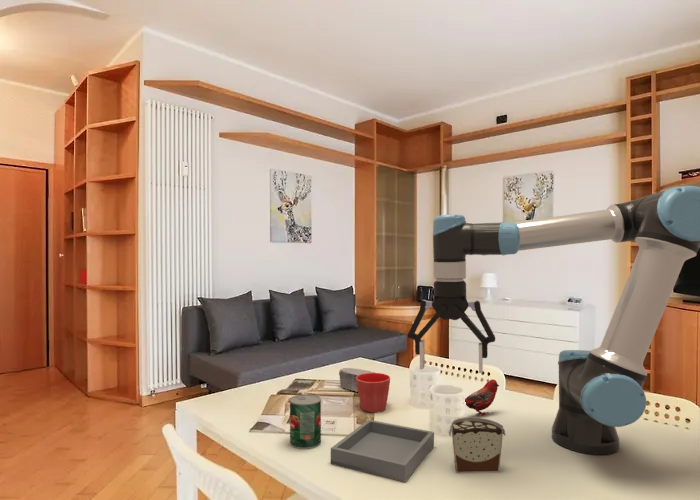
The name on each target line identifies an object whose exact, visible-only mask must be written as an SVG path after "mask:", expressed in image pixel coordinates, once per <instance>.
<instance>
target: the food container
mask: <svg viewBox="0 0 700 500" xmlns="http://www.w3.org/2000/svg"><path fill="white" fill-rule="evenodd" d="M451 435H452V437H451ZM448 436H449V437H451V438H452V447H453V456H454V457H453V458H454V465H455V473H456V474H468V473H469V474H477V473H478V474H479V473H482V474H483V473H484V474H485V473H500V466H501V458H502V456H501V455H502V446H503V437H506V436H507V435H506V431H505V428H504V426H503V425H502V424H500V422H497V421H494V420H491V419H488V418H483V417H482V418H481V417H474V416H473V417H460V418H457V419H455V420H452V422H451V425H450V427H449V431H448Z"/></svg>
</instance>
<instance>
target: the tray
mask: <svg viewBox="0 0 700 500" xmlns="http://www.w3.org/2000/svg"><path fill="white" fill-rule="evenodd" d="M434 447H435V432H434V431H429V430H425V429H421V428H420V429H419V428H415V427H410V426H409V427H408V426H403V425H398V424H394V423H388V422H383V421H378V420H377V421H376V420H374V419H373V420H372V419H368V420H365V422H363V423H362V424H361V425H359V426H358V427H356V428H355V429H354V430H353V431H351V432H350V433H349V434H348V435H346V436H345V437H343V438H342V439H341V440H339V441H338V442H337V443H336V444H334V445H333V446H332V447H330V464H331V465H335V466H338V467H342V468H346V469H351V470H354V471H358V472H362V473H367V474H370V475H374V476H379V477H382V478H386V479H391V480H395V481H398V482H399V481H400V482H403V483H406V482H407V481H408V479H409V478H410V477H411V476H412V474H413V473H414V472H415V471H416V470H417V468H418V467H419V466H420V465H421V464H422V462H423V461H424V460H425V458H426V457H427V456H428V454H429V453H430V452H431V451H432V449H433V448H434Z"/></svg>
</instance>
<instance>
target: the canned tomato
mask: <svg viewBox="0 0 700 500" xmlns="http://www.w3.org/2000/svg"><path fill="white" fill-rule="evenodd" d="M321 400H322V398H321V397H320V396H319V395H316V394H310V393H309V394H307V393H306V394H305V393H304V394H297V395H294V396H292V397H290V398H289V445H290V446H291V447H292V448H295V449H297V450H310V449H311V450H312V449H315V448H317V447H319V446H321V444H322V427H321V426H322V415H321V414H322V407H321V406H322V404H321V403H322V401H321Z"/></svg>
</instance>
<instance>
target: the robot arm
mask: <svg viewBox="0 0 700 500" xmlns="http://www.w3.org/2000/svg"><path fill="white" fill-rule="evenodd" d="M432 224H433V226H432V227H433V229H432V230H433V231H432V243H433V244H432V246H433V247H432V249H433V250H432V252H433V279H434V280H435V281H433V301H431V300H426V299H422V300H421V301H420V303H419V304H420V305H419V310H418V313H417V315H416V317H415V319H414V321H413V323H412V325H411V326H410V329H409V331H408V333H407V338H408V339H411V340H413V341H414V347H415V349H414V351H415V355H419V370H424V368H425V364H426V363H425V359H426V357H425V340H424V339H423V337H424V336H425V335H426V333H427V332H428V331H429V330H430V329H431V328H432V326H433V325H434V324H435V323H436V322H437V320H439V319H442V320H444V321H447V320H452V321H457V320H460V319H461V321H462V322H463V323H464V324H465V325H466V326H467V328H469V330H470V331H471V332H472V333H473V334H474V335H475V337H476V338H477V339H478V340H479V341H480V342H478V373H479V374H483V372H484V371H483V368H484V365H483V361H484V360H483V359H487V358H488V355H489V354H488V345H489V344H491V343H494V342H495V341H496V336H495V334H494V332H493V330H492V328H491V326H490V324H489V323H488V320H487V318H486V317H485V315H484V313H483V311H482V307H481V306H482V305H481V302H480V301H479V300H475V301H468V299H467V283H466V281H465V279H466V278H467V266H466V265H467V262H466V261H467V260H466V256H468V255H469V256H474V255H475V256H476V255H477V256H500V255H501V256H508V255H516V254H517V253H518V252H519V251H526V250H528V251H529V250H535V249H543V248H553V247H559V246H561V247H562V246H568V245H575V244H584V243H590V242H600V241H608V240H611V241H612V242H613V243H625V242H636V244H637V246H638V250H637V254H636V256H635V258H634V262H633V264H632V267H631V269H630V271H629V274H628V277H627V279H626V281H625V284H624V286H623V289H622V291H621V294H620V297H619V299H618V301H617V305H616V306H615V309H614V311H613V314H612V317H611V319H610V321H609V324H608V327H607V329H606V331H605V333H604V336H603V338H602V341H601V343H600V345H599V347H597V348H594V349H591V350H580V349H579V350H578V349H565V350H562V351H560V352H559V354H558V361H557V365H558V410H557V412H556V415H555V418H554V421H553V423H552V426H551V439H552V440H553V441H554V442H555V443H556V444H558V445H559V446H561V447H563V448H565V449H568V450H570V451H575V452H578V453H582V454H589V455H600V456H603V455H612V454H615V453H617V452H618V451H619V450H620V437H619V435H618V432H617V428H621V427H624V426H628V425H629V426H630V425H632V424H633V423H635V422H637V421H638V420H639V419H640V418H641V417H642V415H644V412H645V410H646V407H647V397H646V394H645V391H644V389H643V386H644V384H645V382H646V379H647V376H648V372H647V370H646V369H645V366H644V361H645V358H646V356H647V353H648V352H649V349H650V347H651V343H652V341H653V339H654V337H655V334H656V332H657V329H658V327H659V325H660V322H661V320H662V317H663V314H664V312H665V310H666V309H667V305H668V302H669V300H670V297H671V295H672V292H673V290H674V288H675V284H676V283H677V280H678V278H679V275H680V273H681V271H682V268H683V266H684V263H685V262H686V261H687V260H689V259H691V258H692V259H693V258H694V257H697V254H698V251H699V250H700V186H696V185H683V186H680V185H679V186H673V187H670V188H668V189H667V190H664V191H663V190H662V191H659V192H655V193H651V194H647V195H645V196H641V197H638V198H637V199H632V200H629V201H626V202H622V203H615V204H610V205H609V206H608V207H607V208H606V209H601V210H600V209H599V210H594V211H587V212H586V211H585V212H579V213H571V214H566V215H565V214H564V215H558V216H557V215H556V216H550V217H543V218H536V219H535V218H534V219H530V220H528V219H527V220H519V221H514V222H505V221H502V222H482V223H479V222H477V223H473V222H472V223H469V222H467V220H466V217H465V216H464V215H462V214H442V215H437V216H436V217H434V219H433V223H432ZM431 307H432V308H433V310H434V312H435V314H434V315H433V316H432V317H431V319H430V320H428V322H427V323H426V324H425V325H424V327H423V328H421V330H420V331H419V332H418V333H416V331H417V329H418V327H419V326H420V324H421V322H422V319H423V318H424V315H425V313H426V311H427V310H429V309H430V308H431ZM468 308H470V309H471V311H473V312H475V315H476V317H477V318H478V320H479V322H480V324H481V326H482V328H483V331H484V332H485V334H486V335H487V336H485V335H484V334H483V332H482V331H481V330H480V328H478V327H477V325H476V324H475V323H474V322H473V321H472V319H470V318H469V316H468V315H467V313H466V311H467V309H468Z"/></svg>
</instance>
